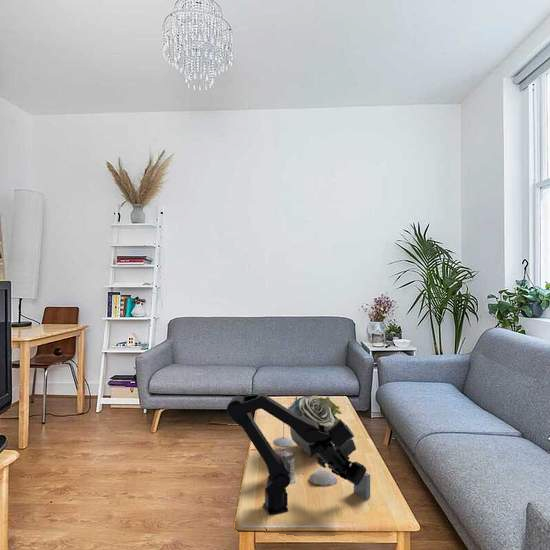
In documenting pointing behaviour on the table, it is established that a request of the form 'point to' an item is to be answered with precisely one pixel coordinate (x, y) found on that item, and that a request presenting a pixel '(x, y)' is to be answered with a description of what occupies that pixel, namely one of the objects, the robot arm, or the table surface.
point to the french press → (286, 452)
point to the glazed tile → (363, 487)
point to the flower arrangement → (313, 414)
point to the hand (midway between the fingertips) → (353, 478)
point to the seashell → (322, 478)
